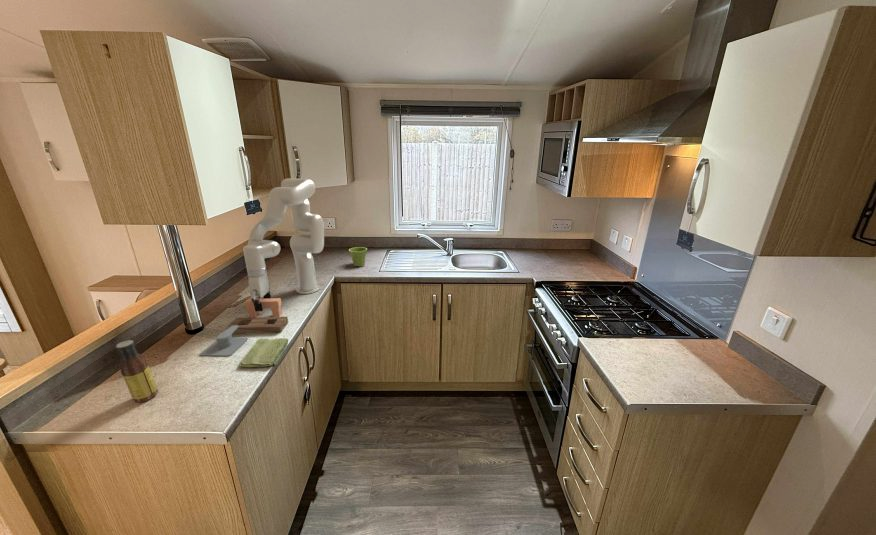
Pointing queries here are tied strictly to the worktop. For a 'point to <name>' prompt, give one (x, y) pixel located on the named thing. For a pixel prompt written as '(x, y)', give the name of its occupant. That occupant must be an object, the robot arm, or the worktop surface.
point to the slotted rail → (259, 325)
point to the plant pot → (358, 255)
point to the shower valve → (224, 344)
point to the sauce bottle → (136, 372)
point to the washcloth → (264, 353)
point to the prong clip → (264, 306)
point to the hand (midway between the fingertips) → (263, 306)
